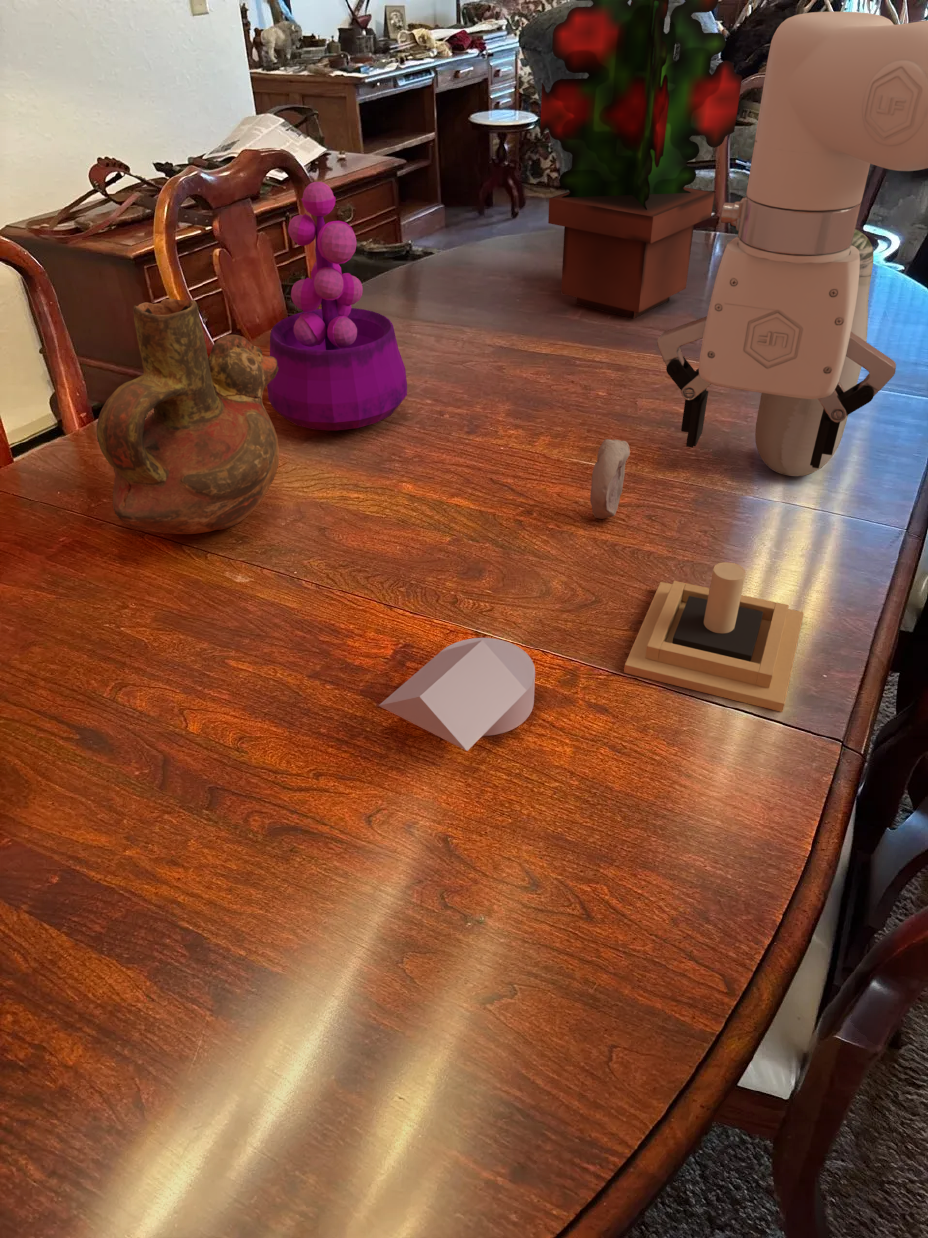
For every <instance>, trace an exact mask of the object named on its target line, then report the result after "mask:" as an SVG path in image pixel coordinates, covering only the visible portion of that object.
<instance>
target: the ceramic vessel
mask: <svg viewBox="0 0 928 1238" xmlns="http://www.w3.org/2000/svg"><path fill="white" fill-rule="evenodd" d="M132 309H133V311H132V312H133V321H134V327H135V333H136V338H137V344H138V350H139V354H140V358H141V364H142V369H143V374H141V375H140V376H138V377H136V378H134V379H131V380H129V381H126V382H124V383H122V384H121V385H120V386H118V387H117V388H116V389H115V390H114V391H113V392H112V393H111V394H110V396H109V397H108V398H107V400H106V401H105V403H104V404H103V406H102V408H101V410H100V412H99V415H98V418H97V422H96V439H97V442H98V445H99V448H100V451H101V454H102V455H103V457H104V458H105V460H106V461H107V463H108V464H109V465H110V467H112V469H113V472H114V482H113V489H112V508H113V511H114V514H115V515H116V516H117V518H118V519H119V520H120V521H122V522H123V523H124V524H126V525H128V526H131V527H133V528H137V529H141V530H146V531H152V532H158V533H164V534H175V535H194V534H203V533H209V532H213V531H221V530H225V529H228V528H232V527H234V526H236V525H238V524H239V523H241V522H242V521H244V520H245V519H247V518H248V517H249V516H250V515H251V514H252V513H253V512H254V510H255V509H256V508H257V507H258V506H259V504H260V503H261V502H262V501H263V500H264V498H265V497H266V494H267V493H268V491H269V490H270V488H271V485H272V483H273V481H274V480H275V477H276V475H277V471H278V467H279V464H280V447H279V439H278V435H277V432H276V429H275V426H274V424H273V422H272V420H271V417H270V415H269V414H268V411H267V409H266V408H265V405H264V402H263V394H264V393H263V392H264V390H265V389H266V388H267V385H268V384H269V383H270V381H271V380H272V379H274V378H275V376H276V374H277V372H278V369H279V368H278V367H277V360H276V358H274V357H272V356H270V355H269V356H268V355H267V356H266V355H263V351H262V349H261V348H260V347H259V346H256V345H253V344H252V343H251V342H250V341H249V340H248V339H247V338H246V337H244V336H241V335H239V334H226V335H223V336H222V337H220V338H218V339H217V340H216V341H215V342H214V344H213V345H212V348H211V350H210V354H209V355H208V349H207V345H206V340H205V335H204V334H205V333H204V330H203V326H202V322H201V317H200V310H199V305H198V302H197V301H196V300H194V299H191V300H184V299H176V298H163V299H162V300H161V301H160V302H159V303H152V302H148V301H147V302H143V303H139V304H138V305H133V307H132ZM152 410H153V412H152V413H151V414H150V415H149V416H148V414H149V413H150V412H151V411H152Z"/></svg>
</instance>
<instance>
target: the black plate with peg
mask: <svg viewBox="0 0 928 1238" xmlns="http://www.w3.org/2000/svg"><path fill="white" fill-rule="evenodd" d="M746 574H747V573H746V569H745V568H744V567H743V566H741V565H740V564H737V563H734V562H729V561H724V562H719V563H717V564H715V565H714V566H713V568H712V574H711V578H710V584H709V588H710V590H709V595H708V600H707V599H702V598H698V597H693V596H689V597H688V600H687V603H686V605H685V608H684V610H683V613H682V616H681V618H680V621H679V624H678V626H677V629H676V631H675V634H674V637H673V642H672V644H677V645H681V646H685V647H689V648H694V649H698V650H702V651H706V652H711V653H715V654H719V655H723V656H728V657H732V658H736V659H741V660H745V661H749V662H751V659H752V655H753V651H754V647H755V644H756V640H757V636H758V632H759V629H760V625H761V621H762V616H763V612H762V611H758V610H753V609H748V608H744V607H739V604H740V599H741V595H743V594H742V593H743V588H744V583H745V579H746Z"/></svg>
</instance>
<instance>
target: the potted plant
mask: <svg viewBox="0 0 928 1238" xmlns="http://www.w3.org/2000/svg"><path fill="white" fill-rule="evenodd" d="M575 1H577V2H581V1H587V2H589V1H591V2H592V4H591V5H590V6H576V7H572V8H571V9H570V10H569V11H568V13H567V15H566V19H564V20H563V21H562V22H559V23H557V24H556V25H555V27H554V28H553V31H552V41H551V51H552V54H553V55H554V57H555V58H557V59H558V60H562V61H563V63H564V67H565V69H566V70H567V72H569V73H572V74H587V75H588V76H587V77H584V78H560V79H557V80H555V81H554V82H553V83H552V84H551V87H550V90H549V92H547V90H546V87H545V84H544V83H543V82H541V96H540V97H541V98H540V100H541V102H540V128H539V129H540V131H539V133H540V134H539V138H540V139H541V138H542V137H543V135H544V132H545V131H546V129H547V130H548V133H549V136H550V137H551V138H552V139H553V140H556V141H558V142H560V145H561V149H562V150H563V151H564V152H566V153H570V154H571V168H570V169H568V170H565V171H563V172H562V173H561V174H560V177H559V180H558V182H559V185H560V187H561V188H562V189H564V190H567V191H566V192H564V193H560V194H558V195H555V196H552V197H549V198H548V217H547V220H548V221H547V223H548V224H549V225H554V226H560V227H564V231H563V248H562V249H563V250H562V268H561V270H562V271H561V291H560V294H561V295H564V296H569V297H572V298H576V301H575V303H576V304H575V305H577V306H581V307H585V308H589V309H594V310H598V311H601V312H606V313H609V314H614V315H618V316H621V317H626V318H629V319H635V318H637V317H639V316H641V315H644V314H646V313H648V312H649V311H651V310H652V309H655V308H657V307H659V306H661V305H662V304H664V303H666V302H669V301H670V298H671V297H672V296H674V295H676V294H678V293H679V292H682V291H684V290H685V289H686V288H687V283H688V274H689V267H690V260H691V259H690V258H691V251H692V243H693V237H694V228H695V225H696V224H699V223H701V222H703V221H706V220H709V219H710V218H712V213H713V207H714V199H715V191H710V190H704V189H700V188H699V189H697V188H691V187H686V186H689V185H691V184H693V183H694V181H696V178H697V170H696V169H695V168H694V167H693V166H690V165H688V164H687V163H688V162H691V161H693V160H695V159H696V158H697V157H698V155H699V153H700V146H699V144H698V142H696V141H693V140H691V139H690V138H691V137H700V136H701V137H702V136H703V137H704V138H705V141H706V144H707V146H709V147H710V148H713V149H716V148H718V147H720V146H722V144H723V143H724V142H725V138H726V137H727V136H728V135H731V134H733V133H735V129H736V123H737V115H738V109H739V102H740V95H741V88H742V81H743V75H741V74H739V73H737V72H736V71H735V67H734V66H735V65H734V64H733V62H731V61H729V60H722V61H720V62H719V63H718V64H717V65H716V67H715V69H714V72H713V73H711V72H710V71H711V65H712V64H711V63H712V58H713V57H714V56H717V55H719V54H721V53H722V52H723V51H724V49H725V47H726V45H727V41H726V37H725V36H724V34H723V33H720V32H704V30H703V26H702V23H701V22H700V20H698V19H696V18H694V17H693V16H692V15H694V14H701V13H703V14H705V13H710V12H712V11H714V10H715V9H716V8H717V7H718V3H719V1H720V0H684V2H683V3H681V4H679V5H677V6H675V7H674V8H673V9H672V11H671V13H670V16H669V26H668V32H667V33H666V32H665V24H666V18H667V16H668V11H669V4H670V0H575ZM629 2H630V3H629ZM676 44H679V51H678V52H679V53H678V59H677V60H675V50H676Z"/></svg>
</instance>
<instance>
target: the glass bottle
mask: <svg viewBox="0 0 928 1238" xmlns="http://www.w3.org/2000/svg"><path fill="white" fill-rule="evenodd" d="M852 246H854V247H856V248H857V249H858V250H859V255H860V270H859V283H858V292H857V299H856V306H855V311H854V317H853V322H852V328H851V332H852V333H854V334H855V335H857V336H858V337H860V338H861V339H863V340H864V341H866V342H867V340H868V325H869V323H868V321H869V296H870V288H871V281H872V275H873V267H874V249H873V248H874V247H873V245H872V243H871V241H870V239H869V238H868V237H867V236H866V234H865V233H863V232H862V231H860V230H858V229H857V228H855V231H854V236H853V240H852ZM867 343H868V342H867ZM861 370H862V367H861V366H860V365H859V364H857V363H856V362H854V361H853V360H851V359H850V358H848V357H847V356H846V357H845V361H844V365H843V369H842V373H841V376H840V379H839V382H840V383H841V385H842V387H843V388H844V390H845V391H847V390H848V389H850V388H852V387H853V386H855V385H857V384H858V383H859V378H860V375H861ZM823 409H824V408H823V406H822V405H821V403H820V401H819V400H818V399H803V398H795V397H788V396H780V395H773V394H766V393H761V394H760V399H759V405H758V410H757V416H756V422H755V433H754V437H755V439H754V440H755V445H756V450H757V453H758V454H759V457H760V458H761V460H762V461H763V463H764V464H765V465H766V466H767V467H768V468H769V469H770V470H772V471H773V472H776V473H778V474H781V475H785V476H789V477H803V476H809V475H811V474H813V473H815V472H817V471H819V470H820V469H822V468H823V467H824V466H825V465H826V464H827V463H829V462H830V461H831V459H832V458H833V457H834V455H835V454H836V452H837V450H838V448H839V447H840V444H841V442H842V438H843V435H844V433H845V429H846V425H847V422H848V417H849V415H847V416H846V418H845V419H844V420H843V421H841V422H840V425H839V429H838V433H837V437H836V441H835V445H834V449H833V453H832V455H826V454H822V458H821V462H820V466H819V469H818V468H812V466H811V465H810V462H811V458H812V454H813V450H814V446H815V441H816V437H817V433H818V429H819V425H820V421H821V417H822V413H823Z"/></svg>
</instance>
